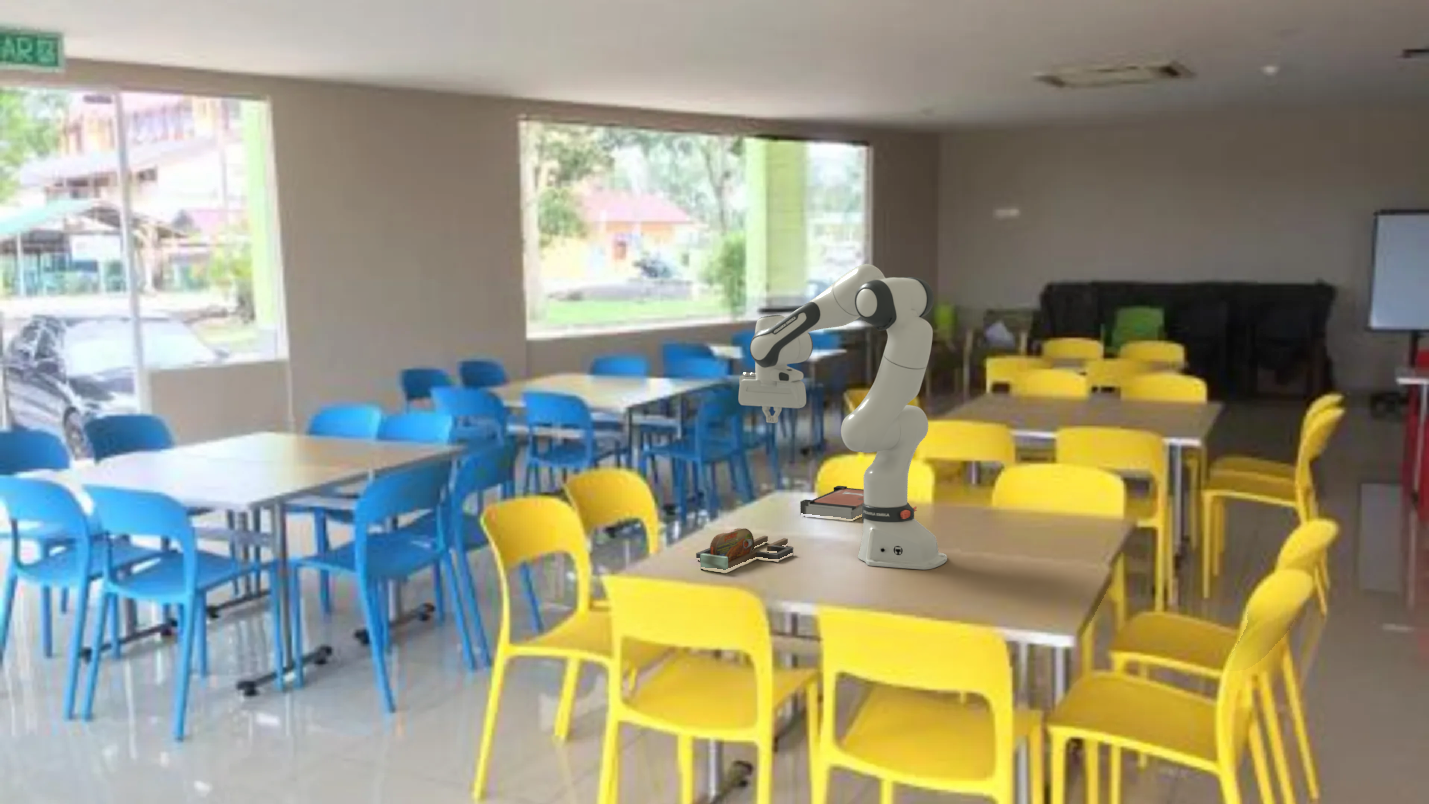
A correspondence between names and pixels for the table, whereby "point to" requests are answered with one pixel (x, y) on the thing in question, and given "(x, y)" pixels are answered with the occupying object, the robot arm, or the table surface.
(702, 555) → the trap lane
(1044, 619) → the table surface
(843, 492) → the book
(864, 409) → the robot arm
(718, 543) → the tin
